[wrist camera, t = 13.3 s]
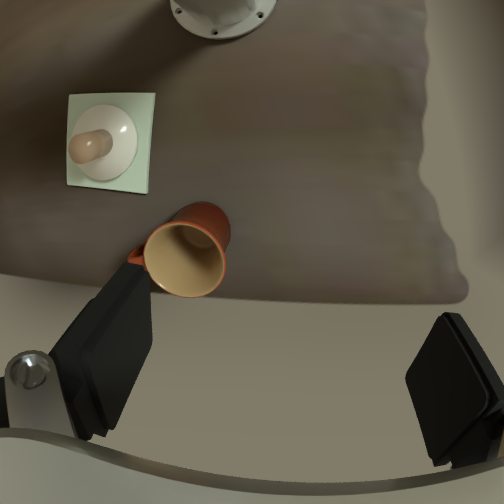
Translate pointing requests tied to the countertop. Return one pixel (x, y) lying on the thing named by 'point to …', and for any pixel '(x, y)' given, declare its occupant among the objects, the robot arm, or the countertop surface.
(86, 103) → the mat
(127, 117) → the lid
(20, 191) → the countertop surface
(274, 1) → the robot arm
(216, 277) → the mug
